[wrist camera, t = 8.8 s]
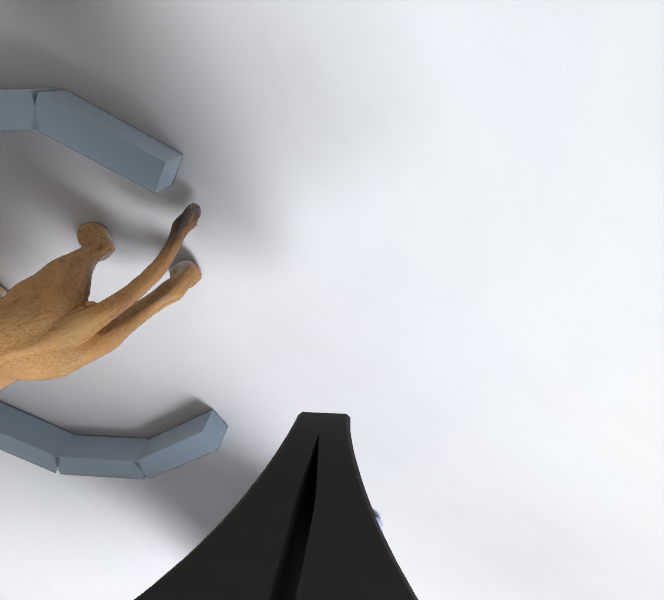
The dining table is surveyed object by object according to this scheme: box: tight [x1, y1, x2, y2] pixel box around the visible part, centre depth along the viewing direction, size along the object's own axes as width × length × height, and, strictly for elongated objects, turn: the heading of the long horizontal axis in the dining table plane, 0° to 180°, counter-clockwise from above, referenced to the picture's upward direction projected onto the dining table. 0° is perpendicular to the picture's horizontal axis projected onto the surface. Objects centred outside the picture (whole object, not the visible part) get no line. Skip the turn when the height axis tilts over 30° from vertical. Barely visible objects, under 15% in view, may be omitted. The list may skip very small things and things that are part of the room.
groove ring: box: [0, 88, 228, 479], centre depth 19 cm, size 17×15×2 cm
